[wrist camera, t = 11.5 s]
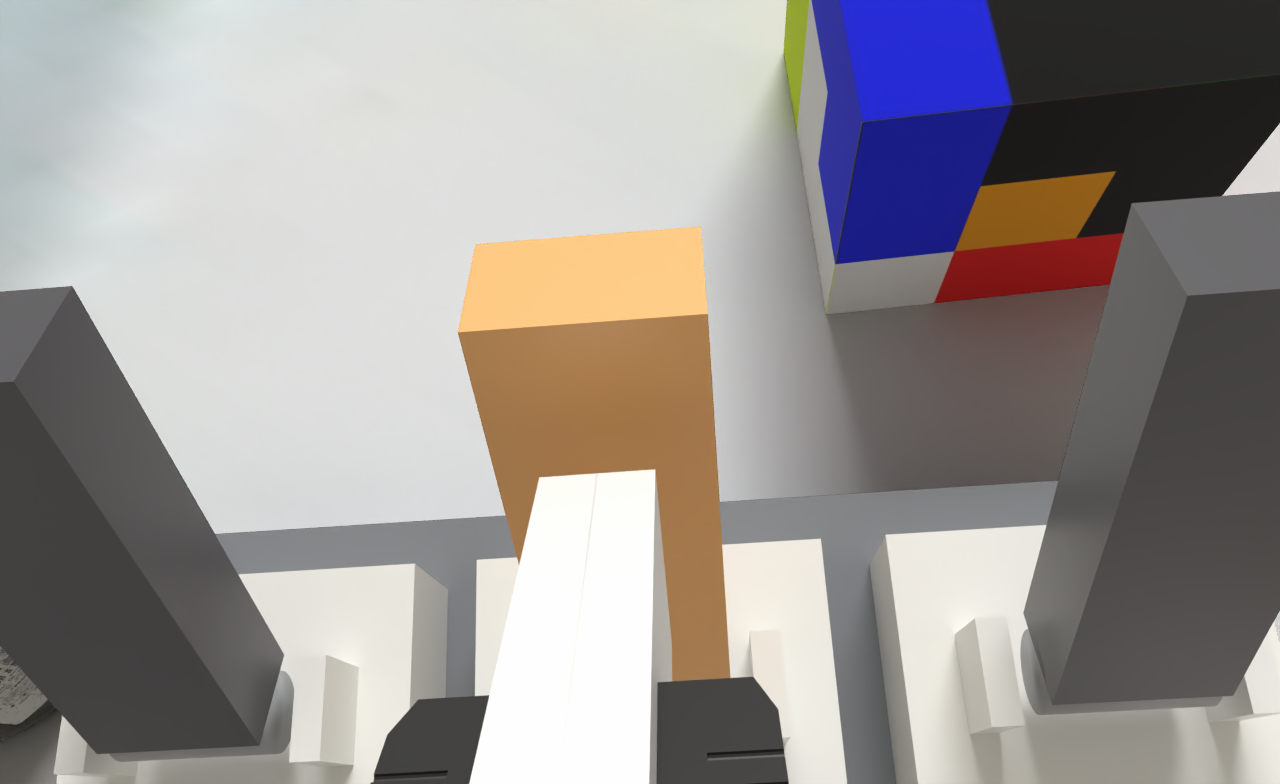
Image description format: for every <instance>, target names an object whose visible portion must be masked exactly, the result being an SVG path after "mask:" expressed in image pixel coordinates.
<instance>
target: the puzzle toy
mask: <svg viewBox="0 0 1280 784" xmlns="http://www.w3.org/2000/svg"><path fill="white" fill-rule="evenodd" d="M784 57H785V64H786V70H787V76H788V82H789V89H790V95H791V101H792V107H793V114H794V120H795V126H796V132H797V139H798V145H799V151H800V157H801V164H802V170H803V176H804V182H805V189H806V195H807V201H808V207H809V214H810V220H811V226H812V232H813V239H814V245H815V251H816V257H817V264H818V270H819V276H820V282H821V289H822V295H823V301H824V307H825V314H826V315H828V314H837V313H846V312H856V311H865V310H874V309H884V308H893V307H902V306H912V305H921V304H930V303H940V302H949V301H959V300H968V299H977V298H987V297H996V296H1005V295H1015V294H1024V293H1033V292H1043V291H1052V290H1061V289H1071V288H1080V287H1089V286H1099V285H1108V284H1110V283H1111V280H1112V276H1113V272H1114V268H1115V265H1116V261H1117V257H1118V253H1119V249H1120V246H1121V242H1122V238H1123V234H1124V231H1125V227H1126V223H1127V219H1128V215H1129V212H1130V208H1131V204H1132V203H1141V202H1154V201H1167V200H1179V199H1192V198H1205V197H1218V196H1222V195H1223V194H1224V193H1225V191H1226V190H1227V189H1228V188H1229V186H1230V185H1231V184H1232V183H1233V181H1234V180H1235V179H1236V178H1237V176H1238V175H1239V174H1240V172H1241V171H1242V170H1243V169H1244V167H1245V166H1246V165H1247V164H1248V162H1249V161H1250V160H1251V159H1252V157H1253V156H1254V155H1255V154H1256V152H1257V151H1258V150H1259V149H1260V147H1261V146H1262V145H1263V144H1264V142H1265V141H1266V140H1267V139H1268V137H1269V136H1270V135H1271V133H1272V132H1273V131H1274V130H1275V128H1276V127H1277V126H1278V125H1279V123H1280V0H787V10H786V25H785V40H784Z"/></svg>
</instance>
